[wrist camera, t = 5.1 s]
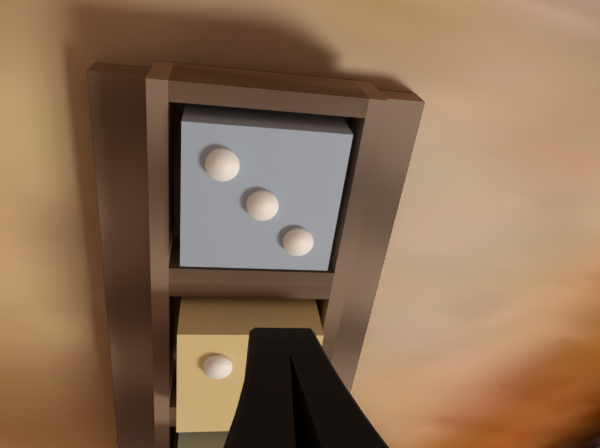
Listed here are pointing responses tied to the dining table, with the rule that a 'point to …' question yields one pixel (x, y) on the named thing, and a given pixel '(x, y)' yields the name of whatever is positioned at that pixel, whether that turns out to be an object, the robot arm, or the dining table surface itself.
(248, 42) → the dining table surface
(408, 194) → the dining table surface
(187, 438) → the one pip tile
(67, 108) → the dining table surface
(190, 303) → the two pip tile
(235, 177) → the three pip tile
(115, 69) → the brown tile tray
